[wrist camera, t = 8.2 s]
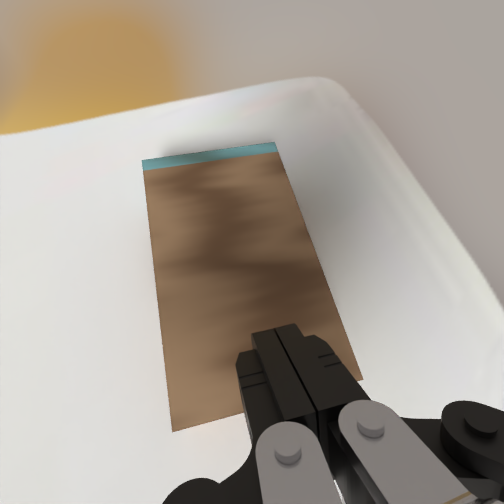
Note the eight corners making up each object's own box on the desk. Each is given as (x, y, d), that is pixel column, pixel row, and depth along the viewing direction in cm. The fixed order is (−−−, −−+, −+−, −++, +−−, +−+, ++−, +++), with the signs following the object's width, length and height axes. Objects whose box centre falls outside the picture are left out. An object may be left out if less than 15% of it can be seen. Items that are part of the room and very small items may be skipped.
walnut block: (335, 385, 17) (267, 184, 23) (363, 379, 13) (274, 142, 19) (186, 426, 15) (157, 201, 21) (172, 432, 12) (141, 160, 18)
